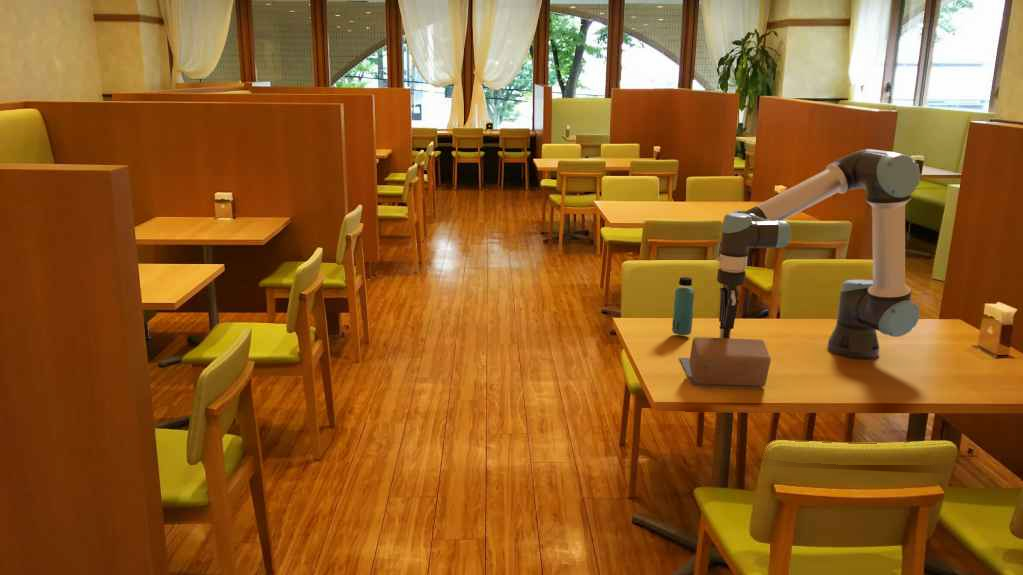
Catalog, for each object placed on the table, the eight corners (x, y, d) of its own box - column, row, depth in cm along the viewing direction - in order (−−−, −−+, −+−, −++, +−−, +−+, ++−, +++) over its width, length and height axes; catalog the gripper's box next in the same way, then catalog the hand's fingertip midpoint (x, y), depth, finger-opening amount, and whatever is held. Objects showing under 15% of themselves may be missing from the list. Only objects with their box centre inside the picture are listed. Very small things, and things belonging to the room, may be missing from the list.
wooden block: (772, 359, 221) (697, 356, 222) (765, 388, 227) (693, 385, 227) (764, 338, 230) (692, 335, 231) (758, 366, 235) (688, 364, 236)
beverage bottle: (694, 336, 271) (699, 277, 265) (686, 341, 265) (692, 281, 260) (675, 332, 274) (680, 274, 269) (667, 337, 269) (672, 278, 263)
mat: (742, 361, 248) (742, 360, 248) (760, 388, 227) (760, 387, 227) (679, 358, 249) (679, 357, 248) (691, 385, 227) (691, 384, 227)
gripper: (713, 263, 234) (705, 341, 240) (723, 274, 221) (714, 356, 227) (740, 264, 233) (731, 342, 240) (751, 275, 221) (741, 357, 227)
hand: (723, 349), depth 233 cm, fingers closed
